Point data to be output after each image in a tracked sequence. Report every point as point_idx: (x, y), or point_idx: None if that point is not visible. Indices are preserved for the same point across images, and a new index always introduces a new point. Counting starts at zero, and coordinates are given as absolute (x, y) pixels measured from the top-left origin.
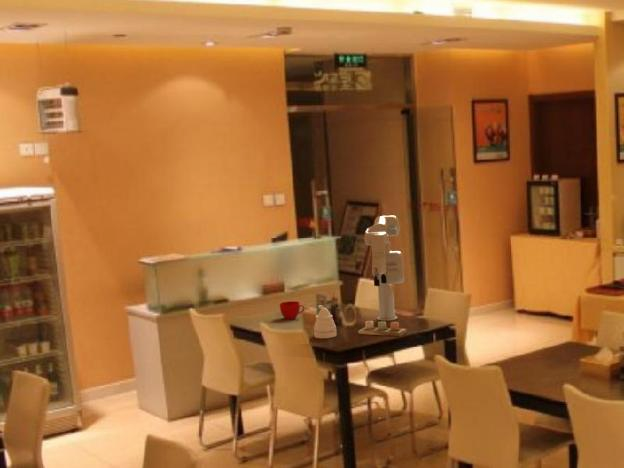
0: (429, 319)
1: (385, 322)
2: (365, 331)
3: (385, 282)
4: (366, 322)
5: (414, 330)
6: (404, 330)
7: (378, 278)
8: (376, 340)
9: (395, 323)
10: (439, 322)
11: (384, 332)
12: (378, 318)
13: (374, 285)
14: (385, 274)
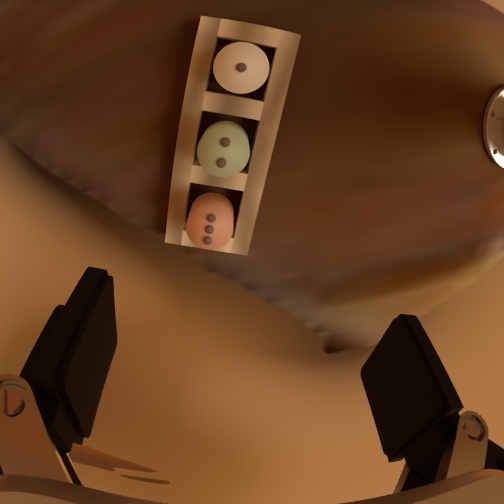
0: (460, 279)
1: (220, 175)
2: (192, 57)
3: (364, 376)
4: (218, 54)
5: (284, 269)
6: (223, 250)
7: (61, 450)
8: (74, 158)
9: (196, 236)
10: None
11: (173, 166)
12: (501, 91)
13: (89, 272)
14: (402, 491)
